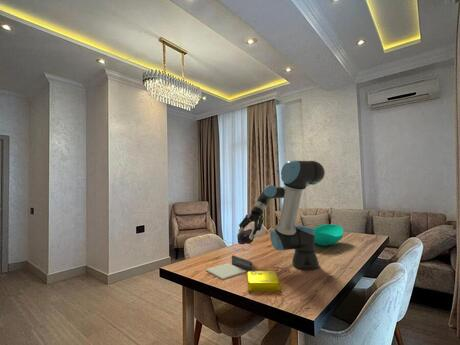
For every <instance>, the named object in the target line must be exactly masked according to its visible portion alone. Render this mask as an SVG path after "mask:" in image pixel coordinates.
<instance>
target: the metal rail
mask: <svg viewBox="0 0 460 345" xmlns="http://www.w3.org/2000/svg"><path fill="white" fill-rule="evenodd" d="M231 265H234V266H236V267H238V268H241V269H243V270H245V271H247V272H248V271H253V262H252V261H250V260H247V259H244V258H241V257H239V256H235V255H231Z"/></svg>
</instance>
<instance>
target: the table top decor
mask: <svg viewBox="0 0 460 345" xmlns="http://www.w3.org/2000/svg"><path fill="white" fill-rule="evenodd" d="M313 229H314V234H315V244H317V245H318V246H324V247H325V246H331V245H334V244H336V243H338V242H339V241H341V240H342V238H343V236H344V233H345V231H344V228H343V226H342V225H338V224H330V223H329V224H328V223H327V224H322V225H319V226H316V227H314V228H313Z"/></svg>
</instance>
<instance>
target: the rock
mask: <svg viewBox="0 0 460 345" xmlns="http://www.w3.org/2000/svg"><path fill="white" fill-rule="evenodd" d="M252 230H253V228H249V229H246V230H244V231H243V232H241V233H240V234H238V233H237V234H238V235H237V243H238V244H239V245H246V244H247V245H250V244H252V243H253V242H254V239H255V236H254V237H253V239H252V240H251V239H250V238H249V236H250V234H251V232H252Z"/></svg>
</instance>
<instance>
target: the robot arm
mask: <svg viewBox="0 0 460 345" xmlns="http://www.w3.org/2000/svg"><path fill="white" fill-rule="evenodd" d="M325 173H326V172H325V168H324V165H322V163H320V162H318V161H317V160H316V161H315V160H288V161H286V162H284V165H282V168H281V171H280V176H281V177H280V178H281V181H282V183H283V185H284V186H278V187H276V186H275V185H273V184H268V185H266V187H265V188H264V189H263V190H262V191H261V193H260V194H259V196H258V197H257V200H256V202H255V204H254V206H253V207H252V209H251V212H250V214H249V215H248V214H245V217H244V218H243V220H241V222H239V224H238V226H239V229H238V232H237V235H238V234H240V233H241V232H243V231H245V228H247V226H248V225H249V224H250V223H253V222H254V225H253V226H254V228H252V232H251V234H250V236H249V238H250V239H251V240H252V239H253V237H254V238H255V236H256V234H257V232H258V231H261V229H262V225H263V223H264V222H263V221H264V216H263V214H264V212H265V209H266V207H267V206H268V204H269V202H270V201H271V200H272V199H283V201H282V206H281V211H280V216H279V223H277V224H276V225H275V229H272V230H271V231H270V233H269V235H270V236H269V237H270V242H271V245H272V247H273V248H274V249H275V250H276V251H278V252H279V251H288V250H294V253H293V257H292V266H293V267H295V268H296V269H299V270H305V271H307V270H309V271H310V270H312V271H313V270H317V269H319V267H320V262H319V259H318V256H317V254H316V243H315V234H314V228H313V227H311V226H308V225H307V226H306V225H297V224H296V221H297V216H298V211H299V207H300V202H301V199H302V198H301V197H302V193H303V191H304V190H305V189H306V188H307V187H309V186H314V185H317V184H318V183H320V182H321V181H322V180H323V179H324V177H325ZM253 240H254V239H253Z"/></svg>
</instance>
